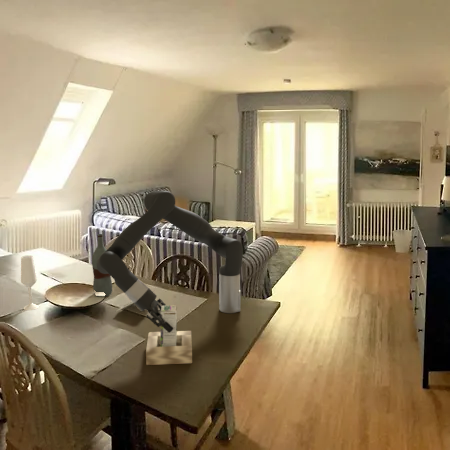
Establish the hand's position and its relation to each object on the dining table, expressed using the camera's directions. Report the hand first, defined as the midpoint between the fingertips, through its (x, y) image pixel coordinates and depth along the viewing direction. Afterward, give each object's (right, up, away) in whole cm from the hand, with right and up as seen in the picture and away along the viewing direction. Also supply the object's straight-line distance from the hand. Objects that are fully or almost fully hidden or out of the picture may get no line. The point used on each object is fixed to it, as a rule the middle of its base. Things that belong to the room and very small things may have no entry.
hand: (173, 326), depth 178 cm
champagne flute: (-70, -1, +45) cm, 83 cm away
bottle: (-41, +3, +63) cm, 75 cm away
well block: (-2, -10, +2) cm, 11 cm away
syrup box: (-2, -7, +2) cm, 8 cm away
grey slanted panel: (-21, -2, +43) cm, 48 cm away
